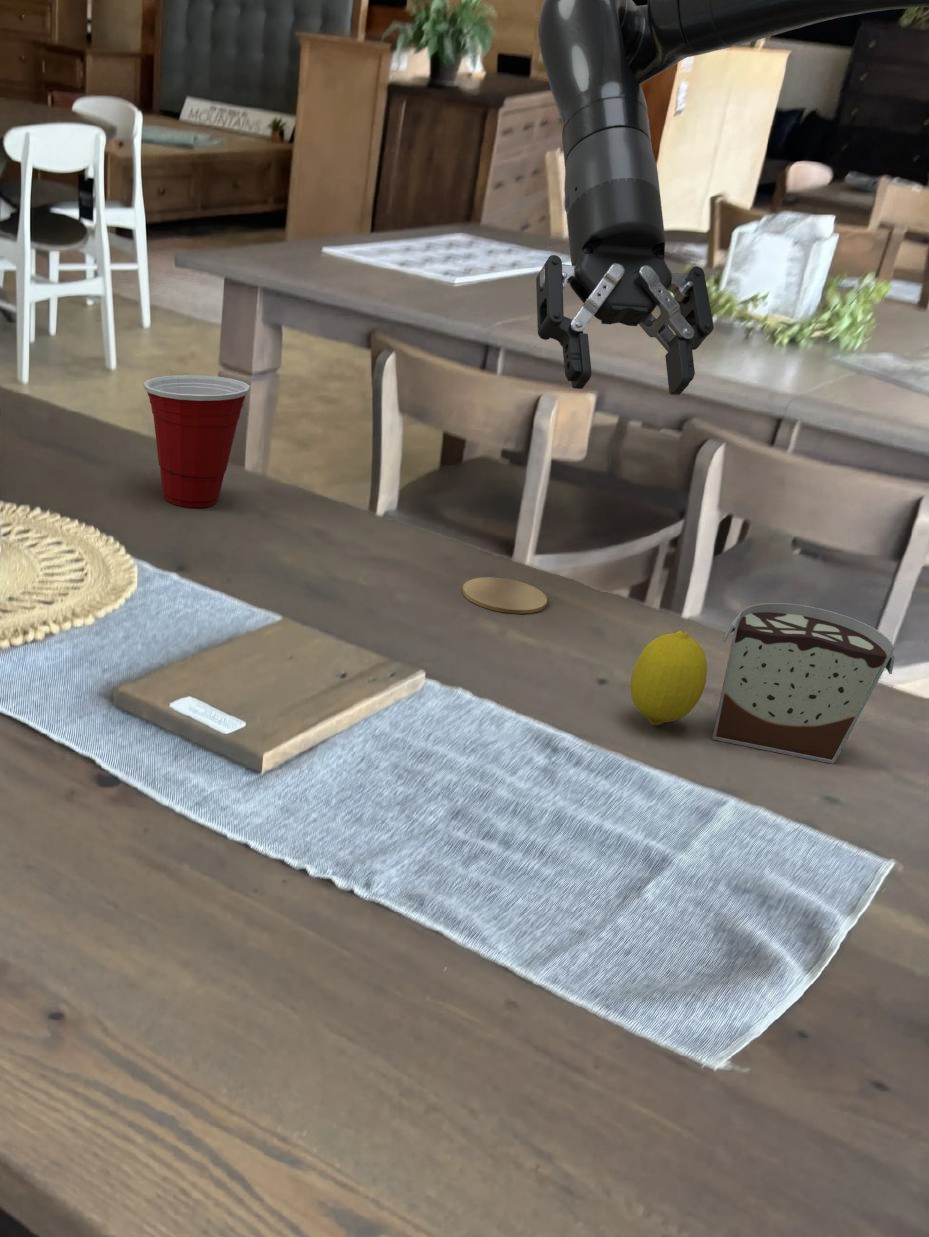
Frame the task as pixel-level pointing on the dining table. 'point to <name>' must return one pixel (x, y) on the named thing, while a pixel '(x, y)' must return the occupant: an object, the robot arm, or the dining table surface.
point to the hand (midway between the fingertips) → (631, 386)
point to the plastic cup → (194, 433)
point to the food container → (798, 679)
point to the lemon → (669, 677)
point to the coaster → (504, 595)
